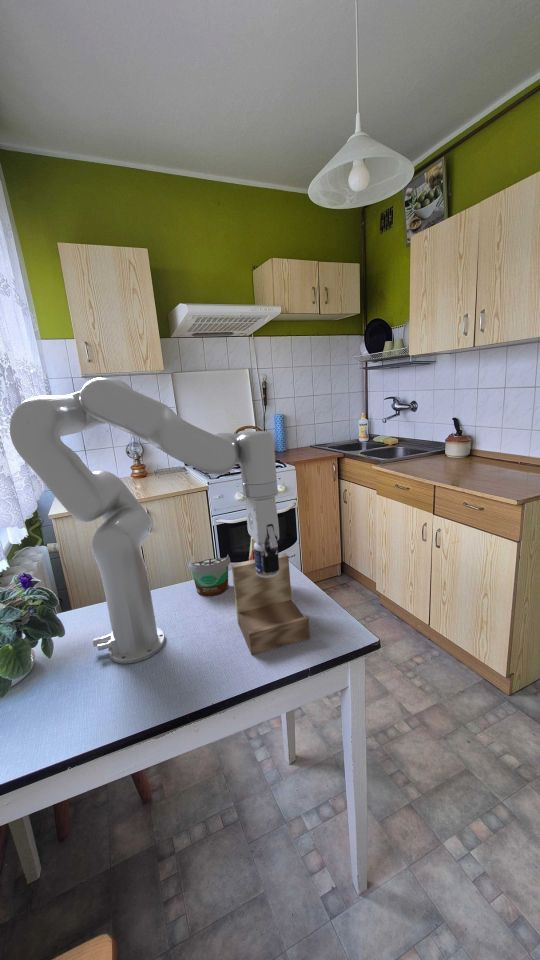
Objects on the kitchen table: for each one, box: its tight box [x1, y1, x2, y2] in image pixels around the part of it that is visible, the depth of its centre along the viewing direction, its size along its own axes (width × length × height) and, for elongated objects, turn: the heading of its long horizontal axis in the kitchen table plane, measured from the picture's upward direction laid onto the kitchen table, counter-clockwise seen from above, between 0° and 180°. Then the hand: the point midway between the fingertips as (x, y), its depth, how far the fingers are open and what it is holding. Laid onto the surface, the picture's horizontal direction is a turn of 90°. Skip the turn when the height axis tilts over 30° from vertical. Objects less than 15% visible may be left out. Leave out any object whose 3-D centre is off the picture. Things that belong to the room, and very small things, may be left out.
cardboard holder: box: [230, 552, 311, 656], centre depth 90 cm, size 14×13×16 cm
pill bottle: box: [254, 539, 279, 578], centre depth 87 cm, size 5×5×10 cm
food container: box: [188, 555, 231, 598], centre depth 111 cm, size 12×6×10 cm, turn 104°
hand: (267, 564), depth 87 cm, fingers closed on pill bottle, 5 cm apart
